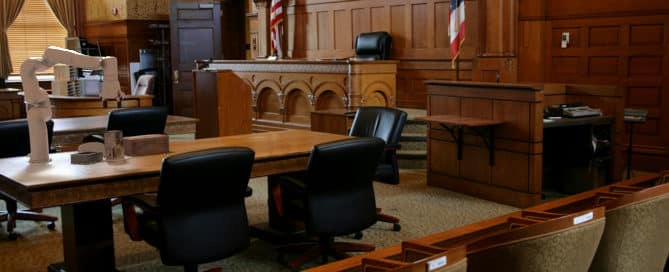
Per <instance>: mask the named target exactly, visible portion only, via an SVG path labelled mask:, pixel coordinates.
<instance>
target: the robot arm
mask: <svg viewBox="0 0 669 272" xmlns="http://www.w3.org/2000/svg"><path fill="white" fill-rule="evenodd" d="M57 64H62V65H67V66H71V67H76V68H80V69H85V70H89V71H100V70H103V76H102V80H103V81H102V85H101V86H102V87H101V92H99V93H98V96H99V98H100V100H101V102H102V108H103V109H108V107H109V106H108V99H116V107H117V108H116V109H122V108H123V107H122V106H123V103H122V102H123V100H124V98H125V96H126V94H125V92H123V91H121V85H120V81H119V77H118V75H119V74H118V58H117V57H115V56H106V57H105V56H90V55H85V54H82V53H78V52H76V51H74V50H69V49H65V48H61V47H58V46H49V47H47V48H46V49H44V52H43V55H41V56H37V57H36V56H34V57H29V58H26V59H24V60H23V62H22V63H21V65H20V67H19V76H20V81H21V84H22V85H21V86H22V89H23V93H24V99H25V102H26V103H27V104H28V105H33V106H34V107H32V108H29V109H28V112H27V114H26V119H27V124H28V131H29V144H30V153H28V154H27V155H26V158H29V159H28V162H29V163H46V162H51V161H53V158H52V157H50V153H49V152H50V151H49V149H50V148H49V137H48V128H47V124H46V122H49V121H50V120H51V119H52V117H53V110H52V106H51V101H50V97H49V94H48V91H46V90H45V89H44V88H42V87H40V85H39V80H38V77H37V76H36V75H37V74H36V73H43V72H46V71H48V70H49V69H50V68H52V67H54V66H56V65H57Z"/></svg>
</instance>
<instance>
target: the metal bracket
mask: <svg viewBox="0 0 669 272" xmlns="http://www.w3.org/2000/svg"><path fill="white" fill-rule="evenodd" d="M102 159H104V157H103V152H99V151H85V152H80V153H78V152H77V153H76V152H75V153H71V154H70V164H80V163H83V164H86V165H88V164H92V162H93V163H96V162H101V161H100V160H102ZM83 164H82V165H83Z"/></svg>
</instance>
